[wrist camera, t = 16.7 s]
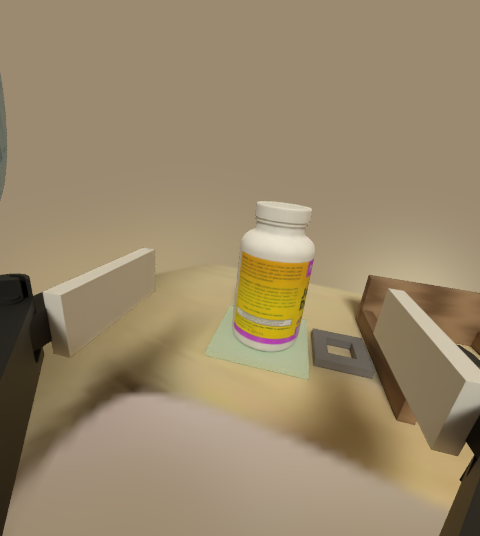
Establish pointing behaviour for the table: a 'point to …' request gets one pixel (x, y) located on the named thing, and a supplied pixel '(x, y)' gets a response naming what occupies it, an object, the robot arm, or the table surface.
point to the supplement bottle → (273, 277)
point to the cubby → (436, 307)
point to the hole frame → (322, 358)
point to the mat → (280, 361)
